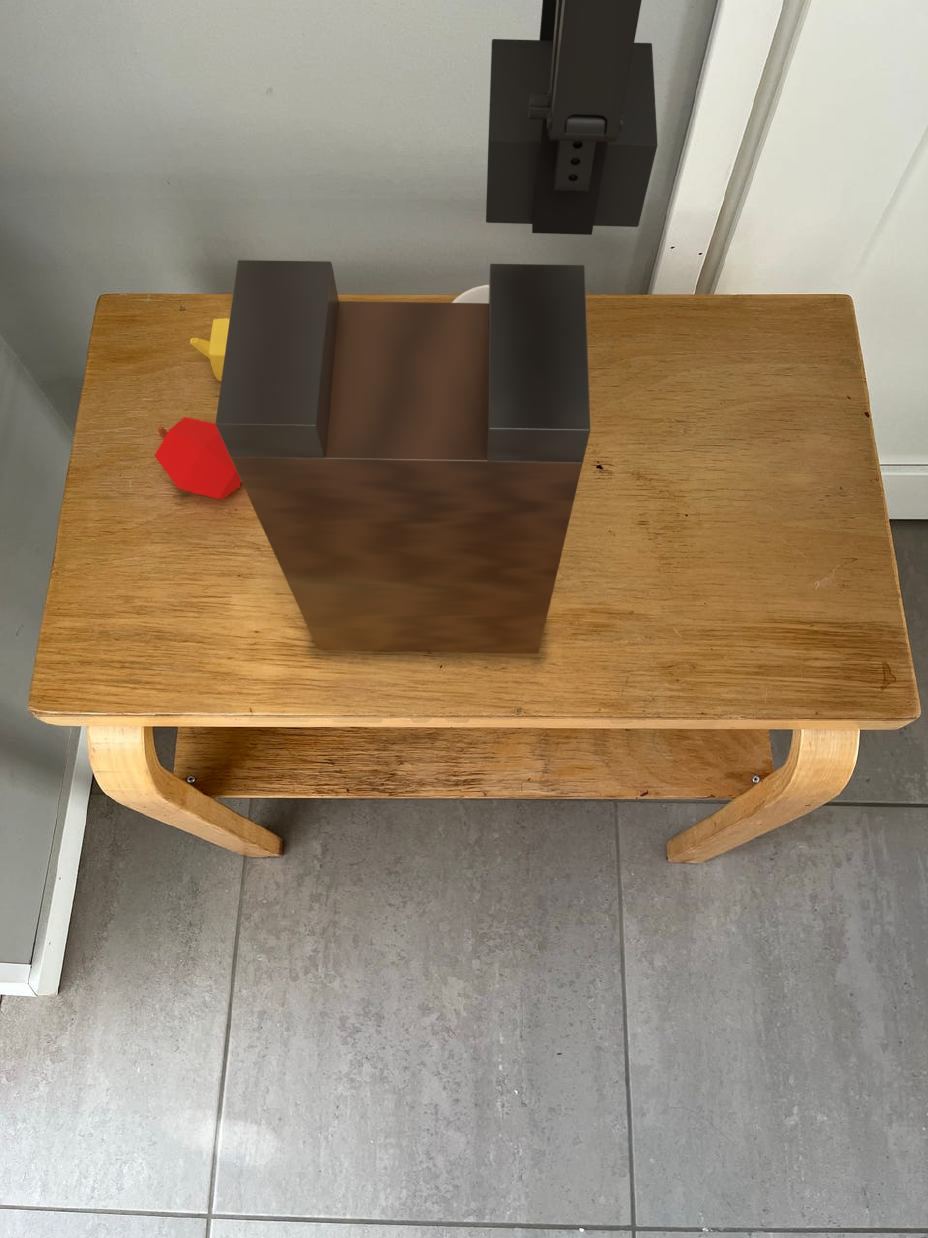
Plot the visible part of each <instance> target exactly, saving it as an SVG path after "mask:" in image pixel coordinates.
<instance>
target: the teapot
mask: <svg viewBox="0 0 928 1238" xmlns="http://www.w3.org/2000/svg"><path fill="white" fill-rule="evenodd" d="M229 320H230V317H229V318H215V319H213V321H212V325H211V331H210V339H209V340H206V339H202V338H199V337H192V338H190V340H189V344H190V345H191V346H193V347H194V348H195V349H196V350H198V351H199V352H200V353H202V354H203V355H204V356H205V357H206V358H208V359H209V363H210V366H211V369H212V373H213V375H214V377H215V379H216V380H217V381H218V382H221V379H222V372H223V364H224V357H225V350H226V342H227V335H228V328H229Z"/></svg>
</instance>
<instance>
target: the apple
mask: <svg viewBox="0 0 928 1238" xmlns="http://www.w3.org/2000/svg"><path fill="white" fill-rule="evenodd" d="M215 423H216V422H209V421H204V420H201V419H196V418H191V417H186V416H184V417H183V418H182V419H180V420H179V421H178V422H177V423H175V424H174V425H173V426H172V427H171V428H169V429H168V430H166V428H165V427H164V426H162V425H159V426H158V427H157V432H158V435H159V436H160V438H161V439H163V440H162V442H161V443H160V445H159V447H158V448H157V450H156V452H155V453H154V458H156V461H158V463H159V464H160V467H162V468H163V470H164V472H165V473H166V474H167V475H168V477H169V478H170V479H171V481H172V482H173V483H174V484H175V486H176V487H177V489H178V490H181V491H184V492H188V493H191V494H197V495H200V496H205V497H207V498H208V497H209V498H213V499H217V500H219V501H220V500H221V501H223V500H224V499H226V498H227V497H229V495H231V494H232V493H233V492H235V491H237V490H238V489H239V488H240V487H241V484H242V482H241V479H240V477H239V475H238V473H237V471H236V468H235V466H234V464H233V462H232V460H231V457H230V455H229V453H228V451H227V449H226V446H225V444H224V442H223V440H222V438H221V435H220V433H219V431H218V429H217V427H216V424H215Z"/></svg>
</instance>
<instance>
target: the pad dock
mask: <svg viewBox="0 0 928 1238" xmlns="http://www.w3.org/2000/svg"><path fill="white" fill-rule="evenodd" d="M236 262H237V263H236V270H235V278H234V284H233V291H232V297H231V298H232V300H231V305H230V315H229V318H230V320H229V328H228V335H227V342H226V350H225V357H224V364H223V372H222V379H221V381H220V386H219V394H218V403H217V408H216V417H215V422H214V423H215V424H216V427H217V429H218V431H219V433H220V435H221V438H222V440H223V442H224V444H225V446H226V449H227V451H228V453H229V455H230V457H231V460H232V462H233V464H234V466H235V468H236V471H237V473H238V475H239V477H240V479H241V484H242V486H243V488H244V491H245V493H246V495H247V497H248V499H249V501H250V504H251V506H252V508H253V510H254V512H255V514H256V516H257V519H258V521H259V523H260V525H261V528H262V530H263V533H264V535H265V536H266V538H267V542H268V543H269V546H270V547H271V550H272V552H273V554H274V556H275V559H276V560H277V564H278V565H279V567H280V570H281V571H282V574H283V576H284V578H285V580H286V582H287V585H288V587H289V589H290V592H291V593H292V595H293V598H294V601H295V602H296V604H297V607H298V609H299V611H300V613H301V616H302V618H303V620H304V622H305V624H306V626H307V629H308V631H309V633H310V635H311V637H312V640H313V642H314V644H315V646H316V648H317V650H318V651H353V652H355V651H356V652H358V651H360V652H408V653H409V652H411V653H412V652H414V653H415V652H416V653H417V652H418V653H462V654H463V653H465V654H466V653H470V654H471V653H473V654H518V655H519V654H521V655H523V654H525V655H527V654H530V655H538V654H539V652H540V648H541V644H542V640H543V636H544V631H545V628H546V627H545V626H546V623H547V618H548V613H549V610H550V606H551V602H552V597H553V592H554V588H555V584H556V580H557V575H558V571H559V568H560V562H561V559H562V553H563V549H564V546H565V541H566V537H567V533H568V529H569V523H570V520H571V517H572V511H573V507H574V503H575V498H576V493H577V490H578V485H579V481H580V477H581V473H582V468H583V464H584V460H585V455H586V452H587V448H588V447H587V446H588V442H589V438H590V435H591V406H590V403H591V401H590V380H589V378H590V376H589V374H590V373H589V351H588V322H587V321H588V320H587V319H588V318H587V317H588V316H587V290H586V289H587V288H586V267H585V265H584V264H548V263H547V264H543V263H541V264H540V263H534V264H533V263H490V265H489V283H488V285H489V303H452V302H435V301H434V302H433V301H432V302H431V301H430V302H426V301H424V302H423V301H370V300H369V301H367V300H366V301H364V300H363V301H362V300H361V301H360V300H352V301H351V300H339V293H338V289H337V284H336V278H335V273H334V268H333V263H332V261H331V260H330V261H329V260H327V261H326V260H265V259H264V260H262V259H261V260H260V259H258V260H257V259H238V260H237V261H236Z"/></svg>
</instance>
